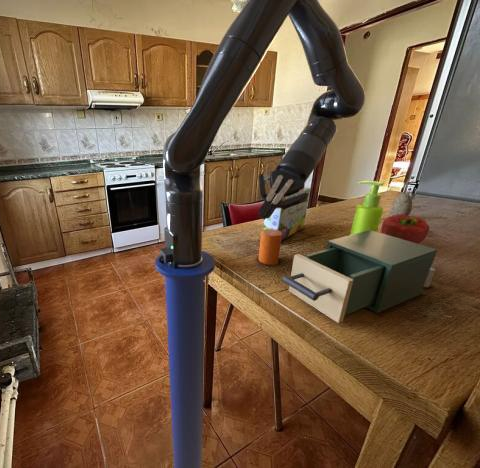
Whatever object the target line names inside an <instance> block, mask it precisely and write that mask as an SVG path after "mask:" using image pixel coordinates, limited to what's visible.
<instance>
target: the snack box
mask: <svg viewBox="0 0 480 468" xmlns="http://www.w3.org/2000/svg"><path fill="white" fill-rule="evenodd" d="M311 190H312V188H311V187H305V186H304V191H305V193H307V194H308V198H307V201H305V202H303V203H300V204H297V205H295V206H292V207H289V208H286V209H281V208H276V209H275V210H274V212H273V213H272V215H271V216H270V218H266V219H265V220H264V221H263V229H262V230H264V229H275V230H279V231H281V232H282V239H281V242H282V241H283V240H285V239H287V238H288V237H290V236H292V235H294V234H295V233H298V232H299V231H300V230H302V229H304V227H305V220H306V215H307V210H308V205H309V199H310V194H311ZM298 193H299V192H298ZM296 194H297V193H296ZM296 194H293V195H291V196H288V197H286V198H285V199H284V200H287V199H289V198H292V197H295V196H296ZM277 195H278V194H277ZM277 195H276V196H277ZM275 198H276V197H275ZM275 198H274V199H275ZM284 200H283V201H284ZM271 204H272V203H271Z"/></svg>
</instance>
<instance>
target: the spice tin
mask: <svg viewBox="0 0 480 468" xmlns="http://www.w3.org/2000/svg"><path fill="white" fill-rule="evenodd" d="M260 231H261V232H260V240H259V251H258V261H259V263H261V264H263V265H267V266H268V265H269V266H274V265H277V264H279V260H280V252H281V246H282V241H281V239H282V232H281V231H279V230H275V229H264V230H263V229H262V230H260Z"/></svg>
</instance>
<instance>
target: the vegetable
mask: <svg viewBox="0 0 480 468" xmlns="http://www.w3.org/2000/svg"><path fill="white" fill-rule="evenodd" d="M380 231H381V232H380V233H382V234H386V235H389V236H393V237H396V238H399V239H403V240H406V241H410V242H413V243H417V244H420V245H421V243H422V242H423V241H424V240H425V239H426V237H427V236H428V235H429V232H430V225H429V224H428V223H427V222H426V220H425V219H422V218H421V217H414V216H410V215H408V216H407V215H402V214H398V215H394V216H392V215H391V216H388V217H386V218H385V219H383V221H382V224H381V229H380Z"/></svg>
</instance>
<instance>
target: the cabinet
mask: <svg viewBox="0 0 480 468" xmlns="http://www.w3.org/2000/svg"><path fill="white" fill-rule="evenodd" d="M333 247H336V248H339V249H341V250H344V251H346V252H349V253H351V254H354V255H357V256H359V257H362V258H364V259H367V260H370V261H372V262H375V263H377V264H380V265H382V266H385V267H386V271H385V274H384V277H383V280H382V283H381V287H380V290H379V293H378V296H377V300H376V303H374V304H371V305H369V306H366V307H365V308H367V309H368V310H371V311H372V312H374V313H376V314H379V313H381V312H383V311H386V310H388V309H390V308H393V307H395V306H397V305H399V304H402V303H404V302H406V301H408V300H411V299H413V298H416V297H418V296H420V295H421V294H422V291H423V289H424V287H423V286H424V284H425V281H426V278H427V276H428V273H429V271H430V268H432V265H433V263H434V260H435V257H436V254H437V252H438V249H437V248H434V247H430V246H427V245H423V244H421V243H420V244H417V243H413V242H410V241H406V240H403V239H399V238H396V237H393V236H389V235H386V234H382V233H381V232H378V231H377V232H375V231H372V230H368V231H365V232H361V233H357V234H353V235H350V234H349V235H345V236H341V237H338V238H334V239H330V240H327V242H326V246H325V249H329V248H333Z"/></svg>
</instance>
